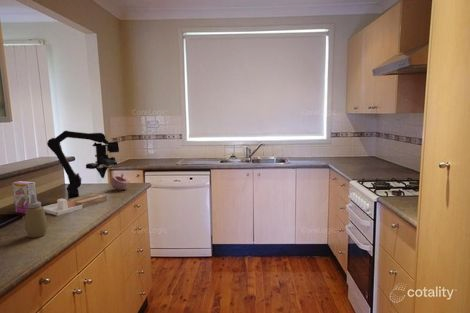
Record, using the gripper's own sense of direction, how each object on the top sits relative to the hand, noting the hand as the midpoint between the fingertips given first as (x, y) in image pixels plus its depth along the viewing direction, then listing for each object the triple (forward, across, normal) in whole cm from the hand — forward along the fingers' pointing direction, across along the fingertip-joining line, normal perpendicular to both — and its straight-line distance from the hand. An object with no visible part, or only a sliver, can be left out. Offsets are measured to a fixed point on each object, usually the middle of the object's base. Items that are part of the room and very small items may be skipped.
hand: (102, 177), depth 193 cm
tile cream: (+9, -28, -3) cm, 29 cm away
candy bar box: (+12, -41, +9) cm, 44 cm away
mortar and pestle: (+12, +17, +5) cm, 22 cm away
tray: (+12, -30, -3) cm, 32 cm away
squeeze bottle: (+12, -56, -29) cm, 64 cm away
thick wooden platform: (+12, -14, -3) cm, 19 cm away
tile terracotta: (+11, -25, -3) cm, 27 cm away
